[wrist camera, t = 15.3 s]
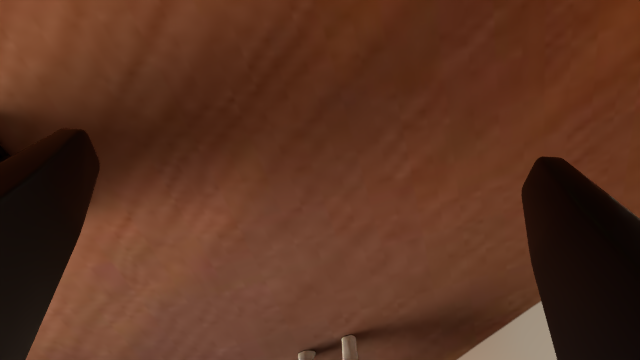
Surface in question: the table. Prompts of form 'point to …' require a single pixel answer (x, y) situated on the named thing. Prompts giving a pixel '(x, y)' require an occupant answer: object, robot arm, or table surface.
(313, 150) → the table surface
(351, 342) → the white animal figure
